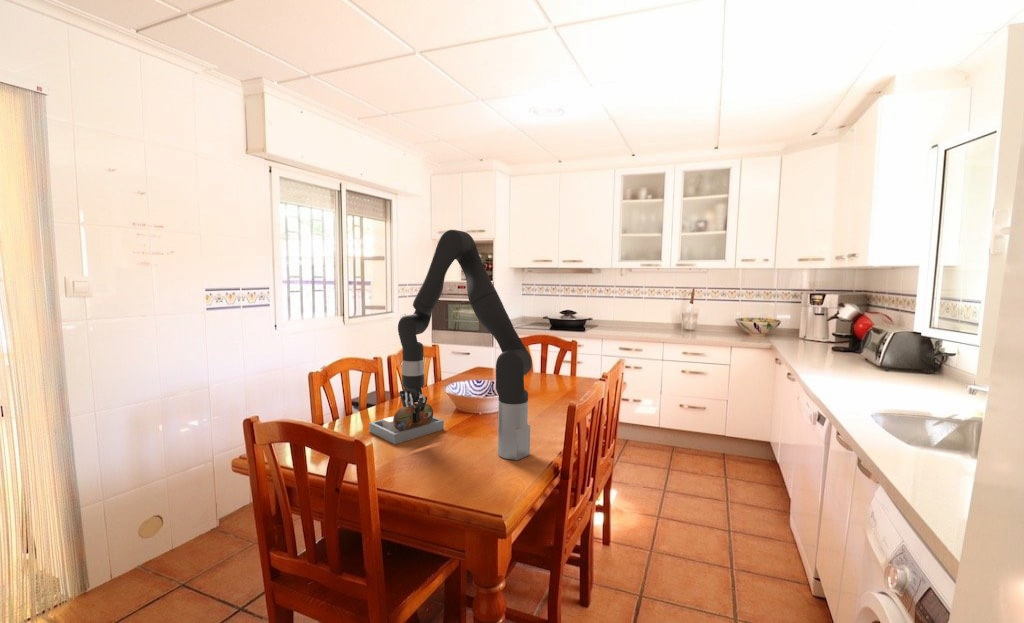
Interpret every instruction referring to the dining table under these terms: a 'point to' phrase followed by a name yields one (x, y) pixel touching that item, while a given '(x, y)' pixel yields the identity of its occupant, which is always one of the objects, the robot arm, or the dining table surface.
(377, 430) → the tray
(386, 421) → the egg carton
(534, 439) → the dining table surface
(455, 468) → the dining table surface
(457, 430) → the dining table surface
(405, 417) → the tin
